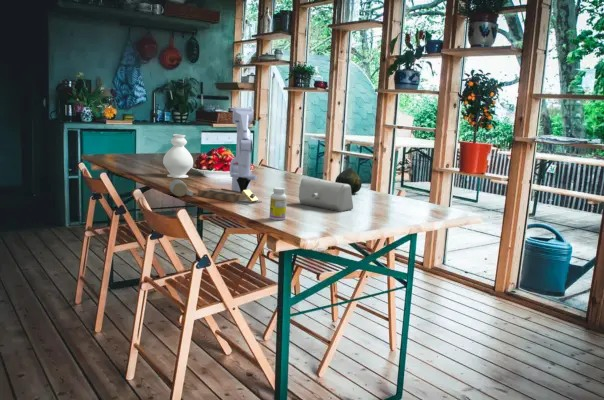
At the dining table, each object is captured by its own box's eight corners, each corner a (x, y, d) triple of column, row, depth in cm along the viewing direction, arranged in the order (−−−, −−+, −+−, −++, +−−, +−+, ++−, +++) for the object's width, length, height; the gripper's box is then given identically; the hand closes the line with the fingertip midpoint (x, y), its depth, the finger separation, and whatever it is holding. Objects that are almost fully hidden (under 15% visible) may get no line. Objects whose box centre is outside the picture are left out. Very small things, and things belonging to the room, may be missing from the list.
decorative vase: (157, 174, 340) (158, 133, 336) (182, 174, 352) (184, 133, 348) (172, 179, 327) (173, 135, 323) (198, 177, 339) (199, 136, 335)
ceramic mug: (172, 197, 267) (173, 181, 266) (169, 194, 274) (169, 178, 273) (194, 197, 271) (195, 181, 270) (190, 194, 279) (191, 179, 277)
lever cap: (241, 192, 265) (244, 188, 264) (247, 191, 269) (250, 187, 268) (250, 203, 263) (253, 199, 262) (256, 202, 267) (259, 198, 266)
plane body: (198, 195, 276) (198, 188, 275) (211, 193, 284) (211, 186, 284) (233, 202, 265) (234, 194, 264) (246, 199, 273) (246, 192, 273)
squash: (338, 185, 307) (356, 165, 310) (326, 182, 320) (343, 163, 323) (354, 202, 312) (371, 182, 315) (342, 198, 326) (358, 179, 329)
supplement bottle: (269, 217, 235) (270, 186, 233) (284, 217, 236) (286, 187, 234) (269, 220, 229) (271, 189, 227) (285, 221, 230) (287, 189, 227)
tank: (291, 205, 267) (292, 179, 265) (310, 202, 280) (311, 177, 278) (335, 213, 253) (337, 186, 251) (353, 210, 266) (355, 183, 264)
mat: (248, 199, 274) (248, 199, 274) (261, 202, 270) (261, 201, 270) (233, 202, 264) (233, 201, 264) (246, 204, 260) (246, 204, 260)
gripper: (226, 164, 266) (225, 192, 268) (251, 167, 259) (250, 196, 261) (236, 163, 272) (234, 191, 274) (260, 166, 265) (259, 195, 267)
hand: (242, 193), depth 268 cm, fingers closed
